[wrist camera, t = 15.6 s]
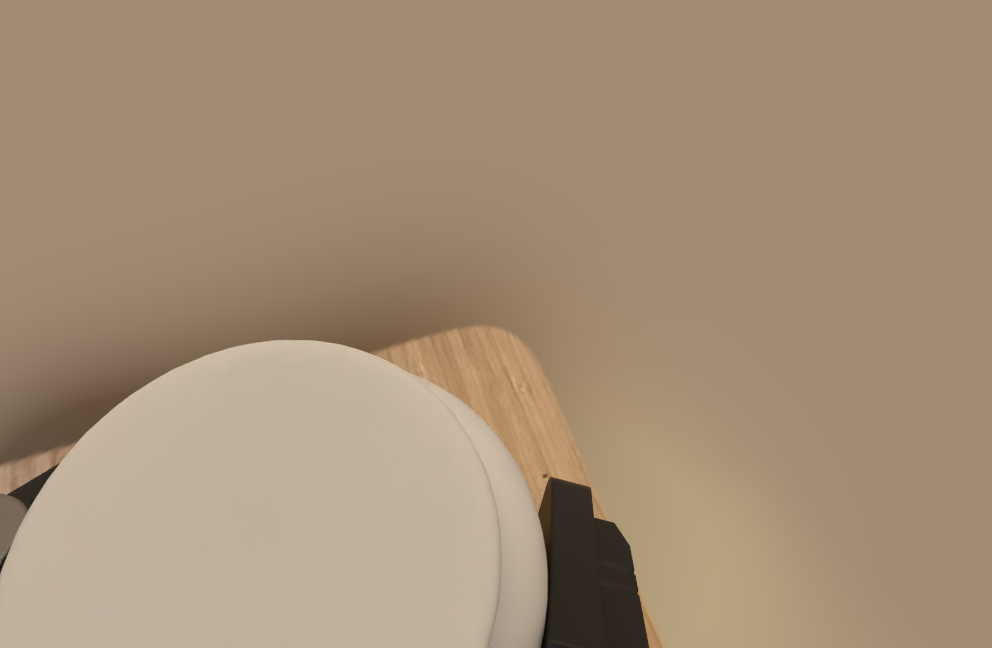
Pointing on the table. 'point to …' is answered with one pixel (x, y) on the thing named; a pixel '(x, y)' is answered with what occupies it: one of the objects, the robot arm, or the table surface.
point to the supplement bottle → (281, 516)
